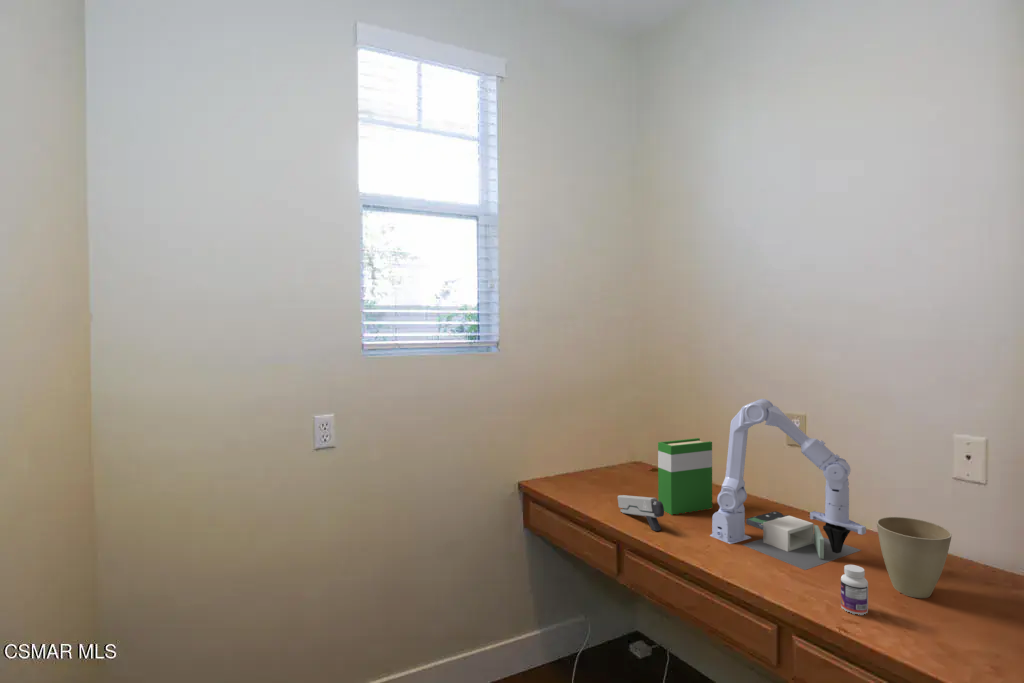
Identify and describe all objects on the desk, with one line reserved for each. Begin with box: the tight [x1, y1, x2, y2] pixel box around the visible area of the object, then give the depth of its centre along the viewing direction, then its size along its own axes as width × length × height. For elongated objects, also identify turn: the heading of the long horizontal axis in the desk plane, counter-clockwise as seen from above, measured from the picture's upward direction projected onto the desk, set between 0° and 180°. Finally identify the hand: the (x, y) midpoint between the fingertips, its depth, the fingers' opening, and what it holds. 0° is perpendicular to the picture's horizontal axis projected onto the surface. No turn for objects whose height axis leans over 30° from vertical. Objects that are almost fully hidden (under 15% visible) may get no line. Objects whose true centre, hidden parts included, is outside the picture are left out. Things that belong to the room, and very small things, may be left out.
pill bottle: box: [840, 564, 869, 616], centre depth 129 cm, size 5×5×10 cm
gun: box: [617, 494, 665, 532], centre depth 188 cm, size 2×25×10 cm, turn 21°
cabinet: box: [762, 515, 815, 551], centre depth 168 cm, size 12×8×6 cm, turn 119°
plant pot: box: [876, 516, 953, 599], centre depth 137 cm, size 15×15×16 cm
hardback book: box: [657, 437, 713, 516], centre depth 201 cm, size 18×7×24 cm, turn 111°
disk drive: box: [745, 510, 790, 531], centre depth 183 cm, size 10×3×15 cm
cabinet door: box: [814, 524, 827, 559], centre depth 161 cm, size 12×2×5 cm, turn 159°
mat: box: [741, 536, 862, 571], centre depth 164 cm, size 26×20×1 cm
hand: (836, 551), depth 156 cm, fingers closed
